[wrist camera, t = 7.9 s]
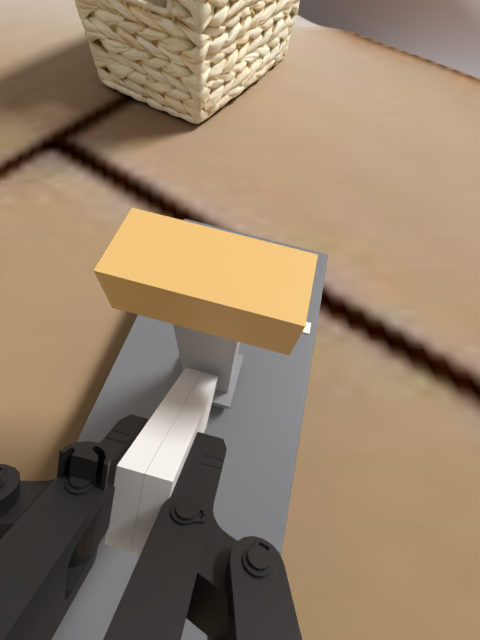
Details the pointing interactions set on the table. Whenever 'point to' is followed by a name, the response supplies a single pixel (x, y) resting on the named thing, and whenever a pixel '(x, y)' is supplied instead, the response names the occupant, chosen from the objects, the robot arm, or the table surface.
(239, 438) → the fader console
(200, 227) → the fader knob
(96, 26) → the storage basket
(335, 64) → the table surface
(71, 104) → the table surface
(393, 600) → the table surface
